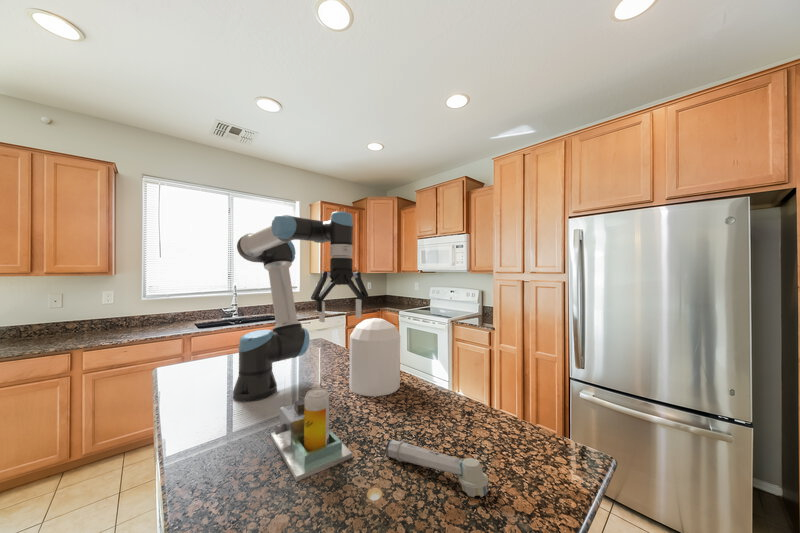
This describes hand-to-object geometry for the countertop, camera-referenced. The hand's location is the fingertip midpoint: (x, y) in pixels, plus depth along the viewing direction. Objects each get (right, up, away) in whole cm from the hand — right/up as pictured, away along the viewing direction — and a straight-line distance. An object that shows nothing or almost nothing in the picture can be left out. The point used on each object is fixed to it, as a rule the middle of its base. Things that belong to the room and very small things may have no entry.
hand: (340, 319), depth 99 cm
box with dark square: (-4, -30, -21) cm, 37 cm away
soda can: (-1, -29, -25) cm, 39 cm away
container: (+10, -31, +21) cm, 39 cm away
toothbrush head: (+28, -31, -31) cm, 52 cm away
